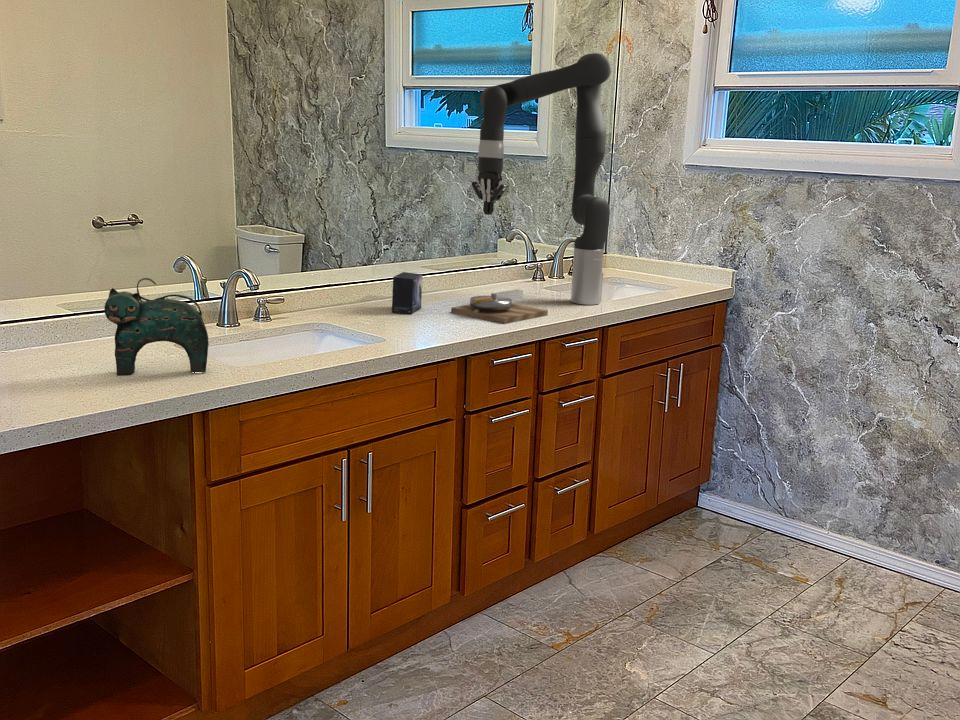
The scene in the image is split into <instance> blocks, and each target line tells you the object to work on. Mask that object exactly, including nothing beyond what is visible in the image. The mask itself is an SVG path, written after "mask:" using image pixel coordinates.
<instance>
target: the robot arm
mask: <svg viewBox="0 0 960 720" xmlns="http://www.w3.org/2000/svg"><path fill="white" fill-rule="evenodd" d="M611 72H612V64H611V61H610V59H609V58H608V57H606V55H604V54H602V53H599V52H594V53H587V54H584V55H582V56H581V57H579V59H578V60H577V61H576V62H575V63H573V64H570V65H567V66H565V67H561V68H556V69H553V70H548V71H544V72H538V73H534V74H530V75H528V76H523V77H521V78H517V79H514V80H512V81H510V82H505V83H501V84H497V85H493V86H489V87H486V88H485V89H484V90H483V91H482V92H481V94H480V96H479V102H480V103H479V104H480V106H481V107H482V108H483V113H482V114H483V115H482V120H481V123H480V130H479V144H478V157H477V171H478V175H477V179H476V180H475V181H471V186H472V188H473V190H474V192H475V194H476V195H477V198H478V199H479V200H480V201H481V200H482V202H483V209H482V210H483V214H484V215H486V216H487V215H488V216H489V215H493V214H494V208H495V204H494V203H495V202H497V201H500V200H501V198H502V196H503V195H504V194H505V192H506V191H507V189H508V187H509V185H508V184H507V183H506V184H505V182H504V181H503V177H502V173H503V172H504V152H505V151H504V149H505V146H504V135H505V134H504V133H505V132H504V131H505V126H504V125H505V121H506V114H507V109H508V108H507V107H511V106H514V105H518V104H524V103H528V102H531V101H534V100H537V99H540V98H544V97H546V96H549V95H553V94H556V93H559V92H562V91H565V90H568V89H573V88H576V89H575V90H576V104H577V105H576V116H575V117H576V120H575V121H576V122H575V139H574V140H575V141H574V142H575V145H574V146H575V158H574V159H575V162H574V163H575V164H574V165H575V166H574V167H575V169H574V183H573V192H572V201H571V215H572V219H573V220H574V222H575V223H577V224H578V225H579V226H580V225H581V226H583V231H582V234H581V235H580V236H578V237H576V238H575V239H574V245H573V260H572V261H573V262H572V276H571V277H572V278H571V289H570V290H571V291H570V302H571V303H572V304H573V303H574V304H576V305H577V304H578V305H588V306H590V305H599V304H600V303H601V302H602V296H603V295H602V293H603V292H602V291H603V282H604V281H603V280H604V272H603V266H604V250H605V249H604V248H605V243H606V242H607V238H608V235H609V227H610V226H609V225H610V218H611V209H610V205H609V203H608V201H607V200H606V199H605V198H602V197H599V196H595V181H596V177H597V173H598V171H599V169H600V167H601V165H602V163H603V161H604V157H605V155H606V147H607V145H606V144H607V137H606V136H607V131H606V123H605V119H604V114H603V109H602V104H601V103H602V102H601V95H602V84H603V83H605V82H607V80H608V79H609V78H610V76H611V74H612V73H611Z"/></svg>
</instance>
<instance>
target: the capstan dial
mask: <svg viewBox="0 0 960 720" xmlns="http://www.w3.org/2000/svg"><path fill="white" fill-rule="evenodd" d="M523 298H524V290H523V289H513V290H511V289H510V290H504V291H497V292H491V293H490V295H477V296H470V298H469V299H470V300H469V301H470V302H469V303H470V306H471V307H473V308H478V309H484V310H506V309H510V308H511V307H512V303H515V302H520V301H521V302H522V301H523Z"/></svg>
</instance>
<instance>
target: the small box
mask: <svg viewBox="0 0 960 720" xmlns="http://www.w3.org/2000/svg"><path fill="white" fill-rule="evenodd" d="M422 293H423V273H414V272H405V271H404V272H401V273H399V274H396V275H394V276H392V297H391V298H392V299H391V313H395V314H405V315H413V314H414V313H416V312H417V311H420V310H421V309H422V300H423V299H422V296H423V295H422Z"/></svg>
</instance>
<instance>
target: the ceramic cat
mask: <svg viewBox="0 0 960 720" xmlns="http://www.w3.org/2000/svg"><path fill="white" fill-rule="evenodd" d="M142 281H149V282H151V283H153V284H154V285H155V286H156V285H157V283H156V282H155V280H153V279H152V278H149V277H144V278H143V277H142V278H141V279H138V281H137V284H136V292H135V293H132V292H129V291H117V290H116V289H115V288H114V287H112V288H111V289H110V290H109V293H108V296H107V297H108V298H107V300H106V301H105V303H104V315H105V316H106V318H107V320H108V321H110V322H111V323H113V324H115V325H117V326H116V330H115V333H114V358H115V365H116V368H115V369H116V376H132V375H134V373H135V370H136V360H137V357H138V356H137V355H138V353H139V351H141V349H143V347H144V346H146V345H148V344H151V343H156V342H168V343H173V344H176V345H178V346H180V347H182V348H183V349H184V350H185V352H186V354H187V357H188V360H189V367H190V368H189V369H190V373H191V372H194V373H195V372H205V373H206V371H207V365H208V363H207V362H208V356H209V355H208V354H209V353H208V352H209V345H210V344H209V334H208V330H207V327H206V325H205V322H204V319H203V317H202V315H203V313H202V309H201V307H200V305H199V304H198V303H197V302H196V300H194V298H191V297H189V296H187V295H183V294H175V293H174V294H166V295H164V296H160V297H158V298H157V297H156V298H154V299H148V298H146V297H143V296H141V294H140V291H139V285H140V283H141V282H142ZM169 297H170V298H169ZM171 297H175V298H176V297H177V298H182V299H187V300H189V301H191V302H192V303H193V304H194V305H196V307H197V308H198V309H196V308H195V306H193V305H191V304H189V302H185V301H184V300H183V301H182V300H179V299H174V298H171ZM198 310H199V311H198Z"/></svg>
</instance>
